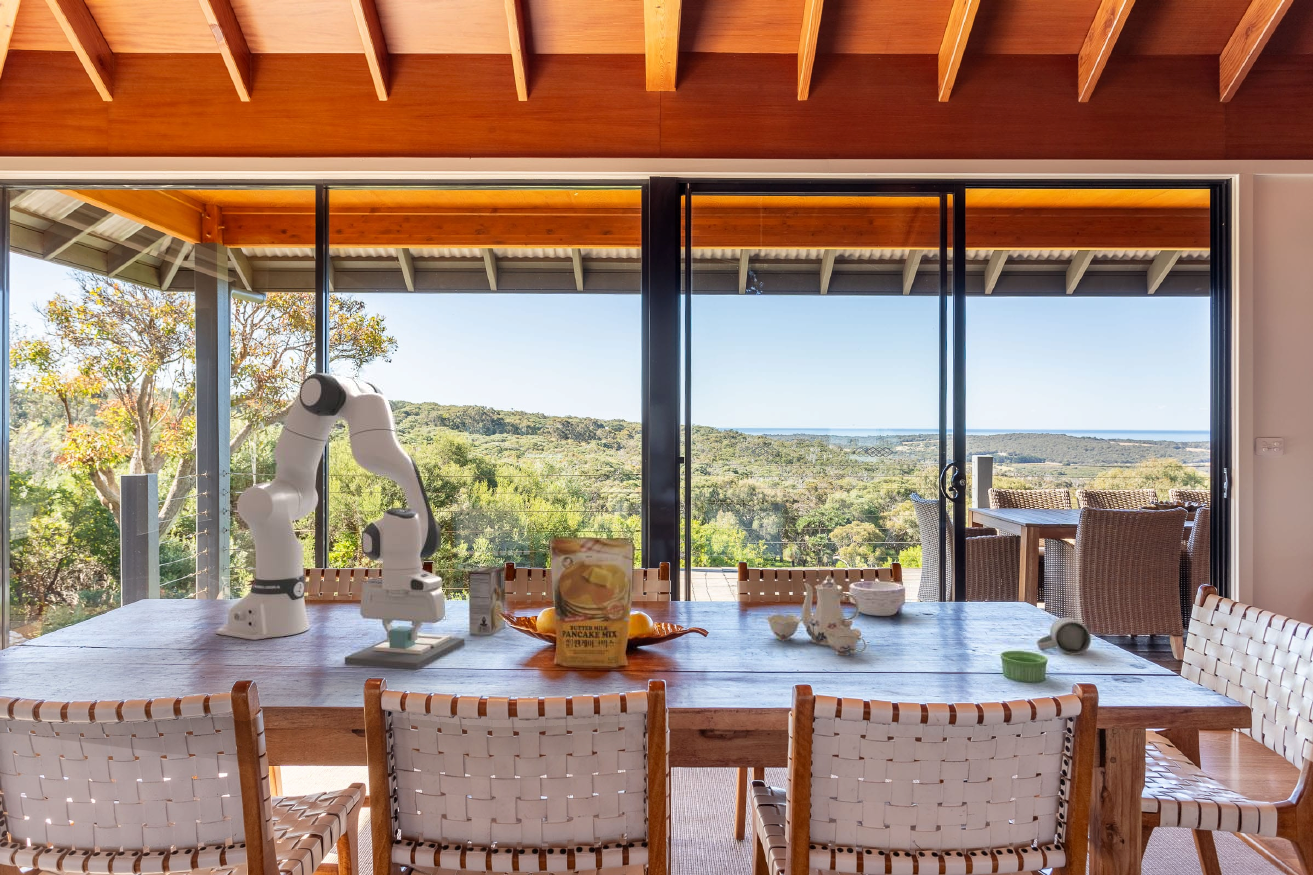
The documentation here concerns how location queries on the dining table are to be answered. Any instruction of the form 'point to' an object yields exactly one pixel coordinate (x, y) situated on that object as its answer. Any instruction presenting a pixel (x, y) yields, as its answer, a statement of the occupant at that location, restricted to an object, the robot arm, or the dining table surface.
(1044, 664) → the ramekin
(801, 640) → the dining table surface
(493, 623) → the coffee box
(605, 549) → the pancake mix bag
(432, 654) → the board
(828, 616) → the chinaware
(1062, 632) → the ceramic mug
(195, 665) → the dining table surface
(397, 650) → the stub
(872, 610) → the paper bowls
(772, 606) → the dining table surface
